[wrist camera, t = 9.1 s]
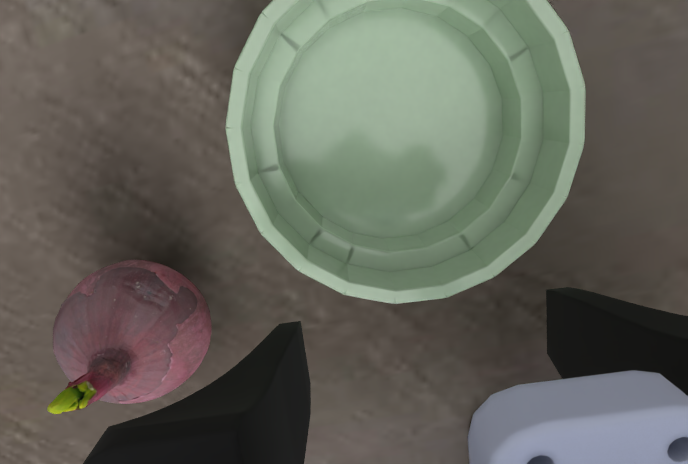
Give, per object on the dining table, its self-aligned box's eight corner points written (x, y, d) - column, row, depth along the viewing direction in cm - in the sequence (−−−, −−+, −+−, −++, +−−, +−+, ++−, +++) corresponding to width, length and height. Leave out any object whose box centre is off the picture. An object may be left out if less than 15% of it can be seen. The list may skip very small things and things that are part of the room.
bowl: (531, 247, 24) (582, 282, 19) (271, 277, 24) (257, 320, 19) (528, -43, 21) (589, -87, 16) (226, -9, 21) (195, -43, 16)
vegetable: (245, 268, 24) (191, 377, 14) (200, 368, 25) (122, 531, 16) (128, 217, 23) (-14, 298, 13) (87, 324, 24) (-68, 468, 15)
